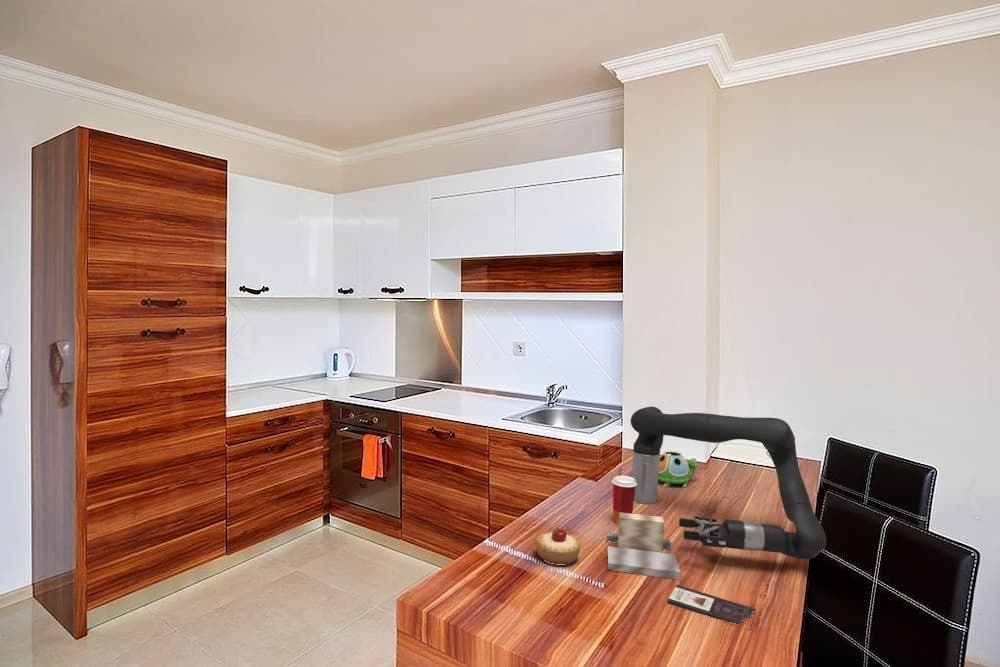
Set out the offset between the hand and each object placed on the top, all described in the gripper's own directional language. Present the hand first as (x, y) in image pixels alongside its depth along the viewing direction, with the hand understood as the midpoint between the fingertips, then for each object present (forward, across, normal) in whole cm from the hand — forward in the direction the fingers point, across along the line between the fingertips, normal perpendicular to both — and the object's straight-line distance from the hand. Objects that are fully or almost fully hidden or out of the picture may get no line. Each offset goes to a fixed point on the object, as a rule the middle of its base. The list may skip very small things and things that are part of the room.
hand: (681, 528), depth 152 cm
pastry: (+34, +9, +8) cm, 36 cm away
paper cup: (+15, -20, +8) cm, 26 cm away
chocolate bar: (-4, +25, +9) cm, 27 cm away
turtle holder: (-7, -66, +8) cm, 66 cm away
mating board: (+11, +4, +8) cm, 14 cm away
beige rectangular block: (+11, 0, +8) cm, 14 cm away
